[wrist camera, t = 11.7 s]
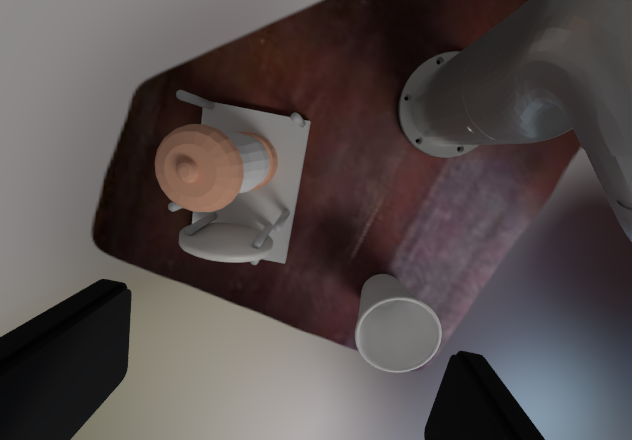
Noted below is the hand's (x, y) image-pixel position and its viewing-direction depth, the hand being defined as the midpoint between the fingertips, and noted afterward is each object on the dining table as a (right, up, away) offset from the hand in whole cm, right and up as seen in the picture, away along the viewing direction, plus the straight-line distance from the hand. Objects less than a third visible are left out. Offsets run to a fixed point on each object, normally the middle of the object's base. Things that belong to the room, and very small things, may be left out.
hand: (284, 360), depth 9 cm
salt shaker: (-8, +12, +32) cm, 35 cm away
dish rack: (-9, +9, +33) cm, 36 cm away
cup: (+11, -7, +37) cm, 39 cm away
